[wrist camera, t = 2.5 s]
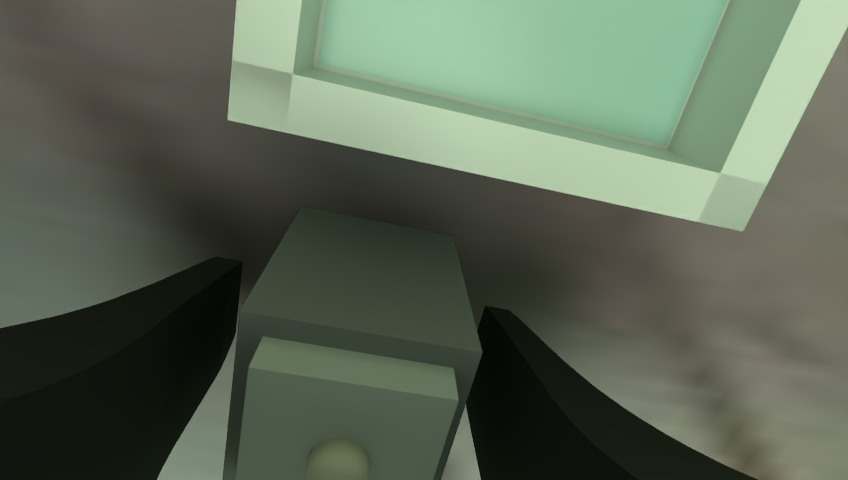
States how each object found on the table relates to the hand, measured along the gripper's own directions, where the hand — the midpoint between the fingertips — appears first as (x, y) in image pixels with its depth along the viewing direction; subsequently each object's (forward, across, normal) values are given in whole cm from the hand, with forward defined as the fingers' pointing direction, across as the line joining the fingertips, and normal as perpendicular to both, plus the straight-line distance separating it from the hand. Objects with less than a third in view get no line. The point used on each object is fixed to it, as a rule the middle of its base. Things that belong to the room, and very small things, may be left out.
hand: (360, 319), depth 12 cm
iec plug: (+2, 0, 0) cm, 2 cm away
